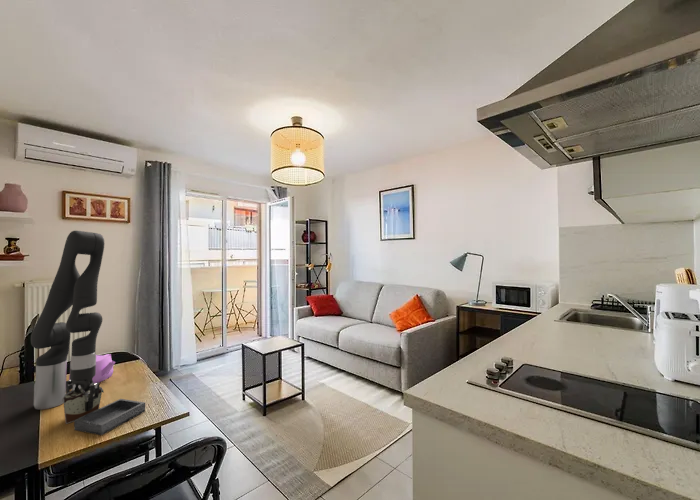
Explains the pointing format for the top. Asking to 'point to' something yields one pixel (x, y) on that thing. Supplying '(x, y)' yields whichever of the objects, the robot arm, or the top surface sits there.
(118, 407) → the grey metal tray
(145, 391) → the top surface
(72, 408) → the grey speckled half-round piece
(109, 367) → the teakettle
